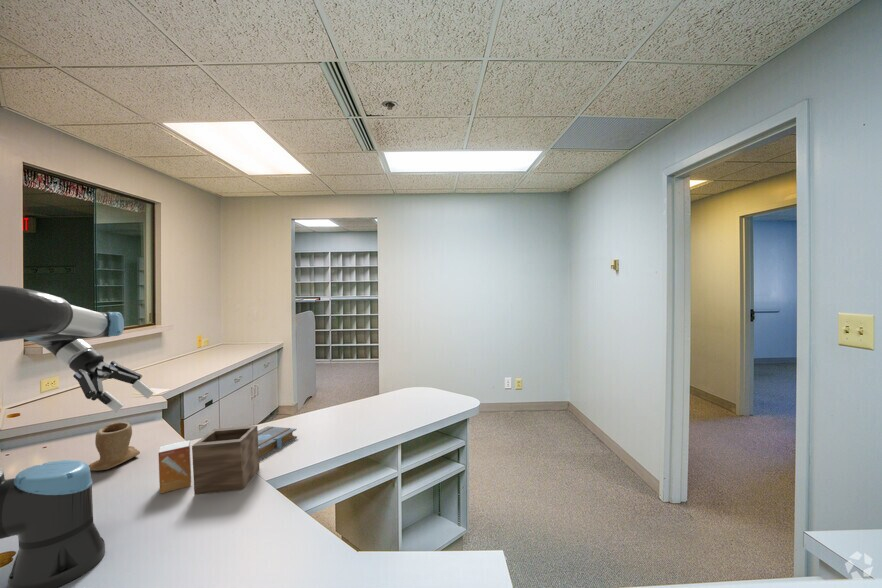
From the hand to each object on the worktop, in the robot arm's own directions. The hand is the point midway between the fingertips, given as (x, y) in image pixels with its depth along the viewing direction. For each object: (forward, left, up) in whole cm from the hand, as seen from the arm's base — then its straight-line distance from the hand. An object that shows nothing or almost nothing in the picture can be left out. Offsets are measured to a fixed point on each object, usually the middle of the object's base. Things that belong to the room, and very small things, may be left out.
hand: (136, 401), depth 116 cm
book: (+27, -28, -29) cm, 48 cm away
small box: (0, -10, -28) cm, 30 cm away
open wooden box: (0, -26, -28) cm, 38 cm away
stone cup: (+23, +23, -28) cm, 43 cm away
